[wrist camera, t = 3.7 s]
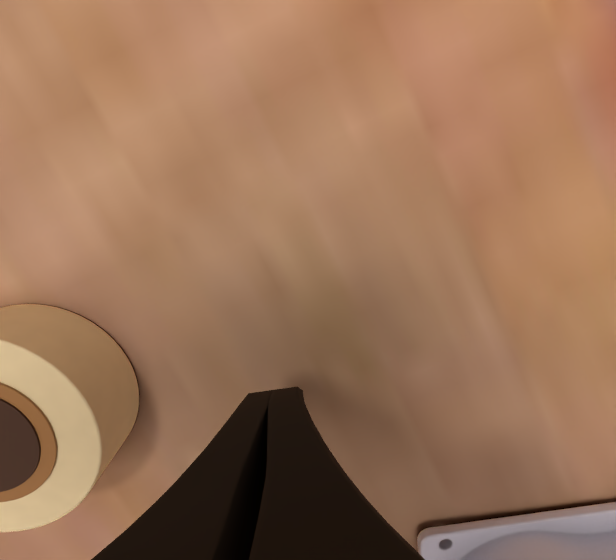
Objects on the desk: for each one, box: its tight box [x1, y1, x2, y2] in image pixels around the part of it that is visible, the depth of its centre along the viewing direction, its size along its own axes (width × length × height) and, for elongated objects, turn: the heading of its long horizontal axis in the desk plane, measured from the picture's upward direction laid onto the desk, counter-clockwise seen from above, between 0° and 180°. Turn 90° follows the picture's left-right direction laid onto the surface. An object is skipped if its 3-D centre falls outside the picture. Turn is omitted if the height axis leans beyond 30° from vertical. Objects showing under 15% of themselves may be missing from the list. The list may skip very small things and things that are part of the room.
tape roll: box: [0, 304, 139, 532], centre depth 11 cm, size 6×6×3 cm
